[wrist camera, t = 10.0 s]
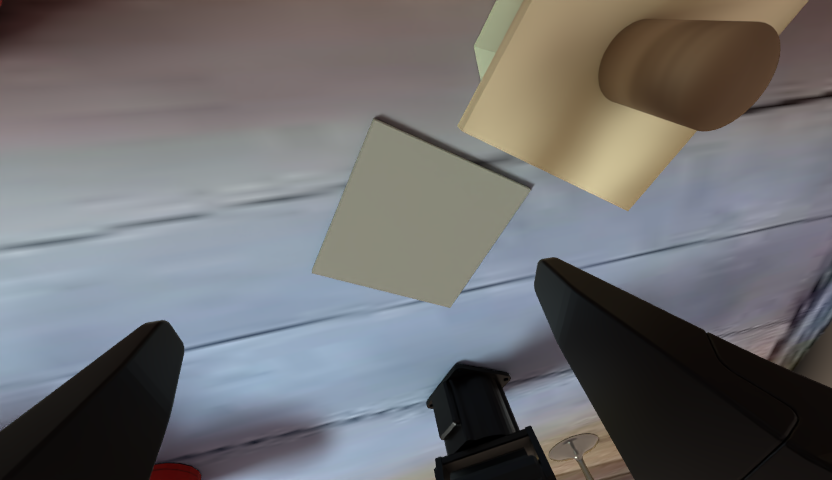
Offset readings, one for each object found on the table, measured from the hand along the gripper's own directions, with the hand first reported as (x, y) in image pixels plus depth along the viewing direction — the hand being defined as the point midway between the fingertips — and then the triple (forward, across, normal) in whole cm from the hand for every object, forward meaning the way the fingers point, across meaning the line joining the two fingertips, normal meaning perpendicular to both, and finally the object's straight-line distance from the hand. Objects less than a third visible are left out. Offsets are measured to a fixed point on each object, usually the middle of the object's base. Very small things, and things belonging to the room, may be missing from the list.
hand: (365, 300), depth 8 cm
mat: (+13, -3, +6) cm, 15 cm away
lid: (+9, -12, -3) cm, 16 cm away
